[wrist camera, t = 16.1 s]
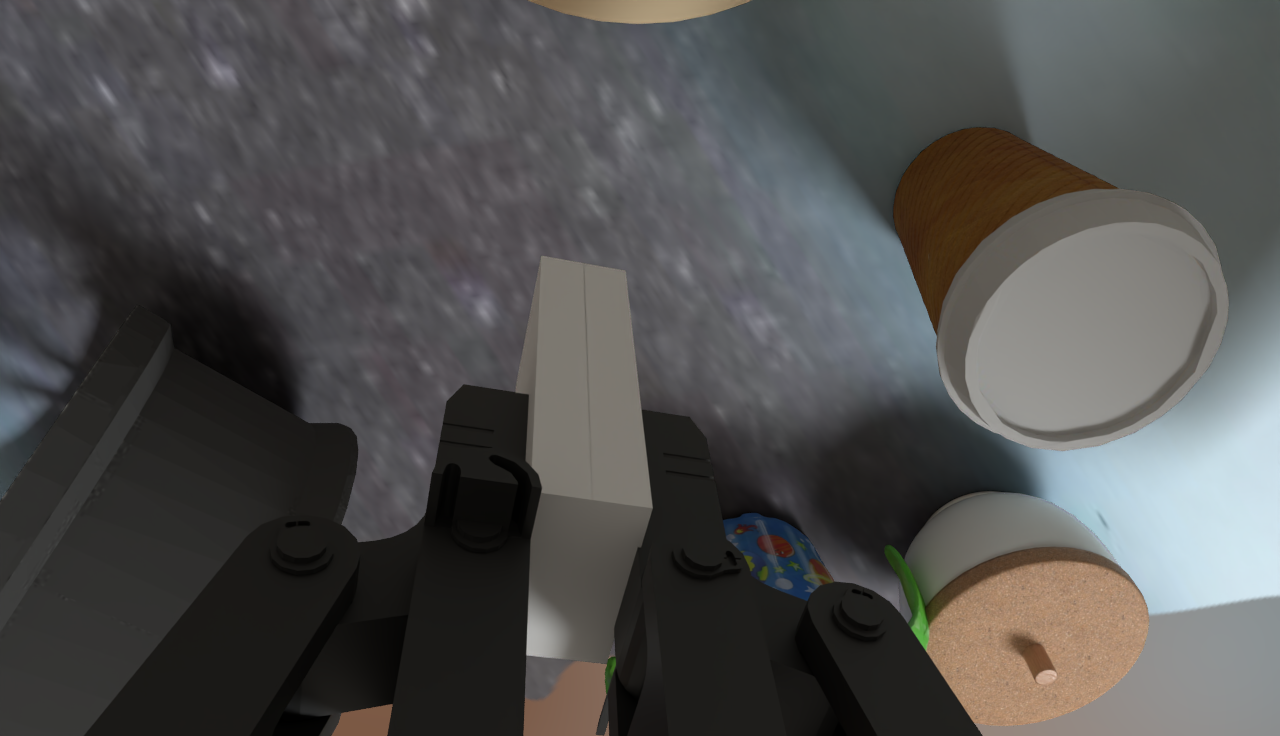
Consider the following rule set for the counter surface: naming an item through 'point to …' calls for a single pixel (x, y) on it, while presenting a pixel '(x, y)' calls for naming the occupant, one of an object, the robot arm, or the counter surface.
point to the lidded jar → (1023, 607)
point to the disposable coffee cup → (1056, 291)
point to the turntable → (640, 9)
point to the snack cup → (800, 566)
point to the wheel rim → (140, 518)
